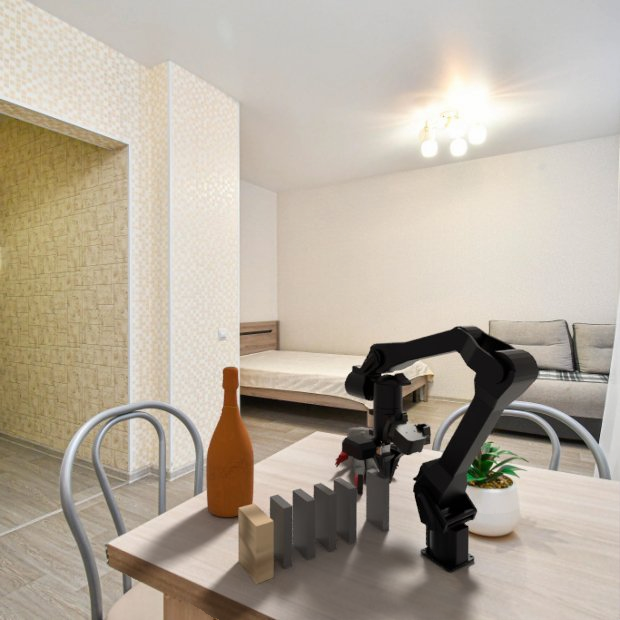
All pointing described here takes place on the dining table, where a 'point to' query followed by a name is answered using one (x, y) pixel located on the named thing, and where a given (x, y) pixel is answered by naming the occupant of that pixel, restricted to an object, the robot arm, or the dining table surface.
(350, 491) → the tile
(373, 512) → the tile
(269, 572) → the end block
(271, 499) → the tile
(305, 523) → the tile
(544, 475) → the dining table surface
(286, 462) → the dining table surface
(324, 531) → the tile
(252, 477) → the wine bottle
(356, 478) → the toy
